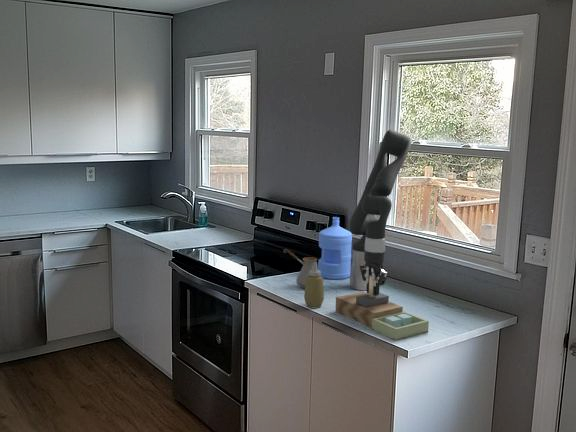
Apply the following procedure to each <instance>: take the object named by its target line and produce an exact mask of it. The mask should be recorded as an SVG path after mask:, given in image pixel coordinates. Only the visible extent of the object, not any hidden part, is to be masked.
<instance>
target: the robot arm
mask: <svg viewBox="0 0 576 432" xmlns="http://www.w3.org/2000/svg"><path fill="white" fill-rule="evenodd" d="M412 140H413V139H412V137H411V136H410V135H407V134H405V133H402V132H399V131H396V130H394V129H388V130H387V131H386V132H385V134H384V135H383V138H382V140H381V143H380V147H379V150H378V152H377V153H378V154H377V155H376V159H375V163H374V165H373V167H372V169H371V172H370V174H369V176H368V179H367V181H366V184H365V186H364V190H363V192H362V195H361V197H360V200H359V202H358V203H357V205H356V208H355V210H354V212H353V213H352V215H351V217H350V219H349V220H350V221H349V230H350V231H349V232H351V233H352V235H355V236H361V237H360V238H359V239H358V240H355V241H354V242H353V244H352V253H351V267H350V276H349V287H351V289H354V290H358V291H366V293H368V294H369V276H372V280H373V281H374V286H373V295H374V296H377V295H379V293H380V287H381V286H384V285H385V283H386V281H387V278H388V276H389V272H388V271H385V270H384V265H383V264H384V262H385V256H386V228H387V222H388V219H389V215H390V213H391V211H392V200H391V199H390V198H389V196H390V195H392V191H393V189H394V186H395V182H396V180H397V177H398V175H399V173H400V171H401V169H402V167H403V165H404V163H405V161H406V159H407V157H408V154H409V152H410V149H411V146H412V144H413V143H412V142H413V141H412ZM387 154H389V155H391V156H393V157H396V158H395V160H393V161H392V162H390V163H389V164H387ZM376 216H379V218H378V219H377V217H376ZM377 276H378V277H377ZM376 277H377V278H376Z"/></svg>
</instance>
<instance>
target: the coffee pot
mask: <svg viewBox="0 0 576 432" xmlns="http://www.w3.org/2000/svg"><path fill="white" fill-rule="evenodd" d="M282 252H283V253H285V252H286V253H287V254H289V255H290V256H291V257H293V258H294V259H295V260H297V261H298V262H299V263H300V264H301V265H302V267H301V269H300V272H299V273H298V275H297V278H296V280H295V281H296V284H297V286H299V287H300V288H301V289H302V290H305V286H306V278H307V276H309V271H310V270H312V267H313V263H314V262H317V261H318V259H317V258H316V257H312V256H311V257H303V258H302V260H301V259H299V257H298V256H296V255H295V254H294V252H291V250H289V249H287V248H285V249H284V250H283V251H282Z"/></svg>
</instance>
